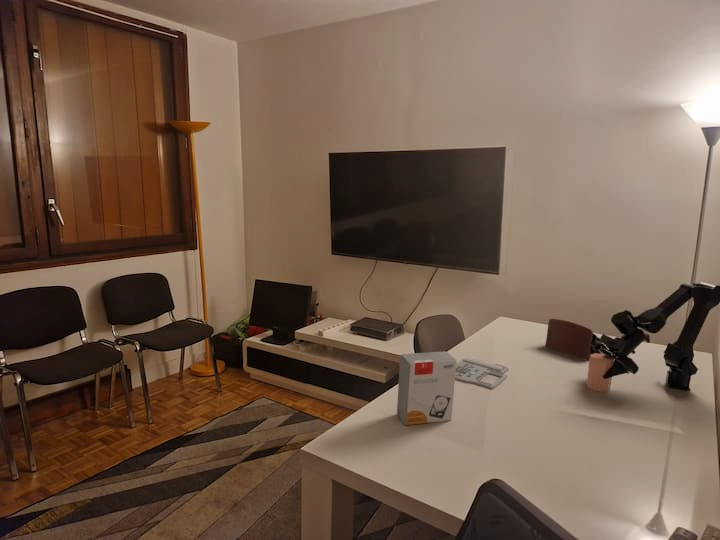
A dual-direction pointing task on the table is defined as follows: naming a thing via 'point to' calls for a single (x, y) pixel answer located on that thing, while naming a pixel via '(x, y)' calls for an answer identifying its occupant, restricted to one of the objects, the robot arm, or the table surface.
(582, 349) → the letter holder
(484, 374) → the office telephone
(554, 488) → the table surface
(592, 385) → the faceted domed cylinder
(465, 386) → the table surface
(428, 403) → the hard drive box
